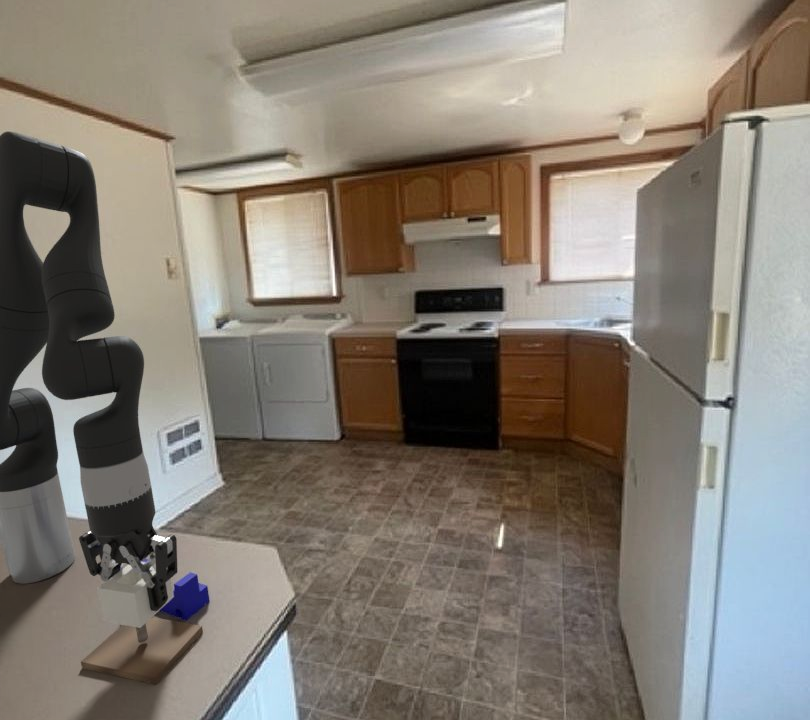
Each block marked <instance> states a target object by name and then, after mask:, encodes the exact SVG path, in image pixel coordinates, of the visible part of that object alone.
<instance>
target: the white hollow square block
mask: <svg viewBox="0 0 810 720" xmlns="http://www.w3.org/2000/svg"><path fill="white" fill-rule="evenodd" d="M141 563H142V564H144V563H146V562H141ZM150 572H151V574H152V575H154V574H155V573H156V572H155V570H154V568H153V567H150ZM147 587H148V586H147V585H146V583H145V582H144V580H143V578H142V576H141V575H137V574H135V572H134V570H133V569H132V567H131V565H129V564H126V566H124V567H123V568H122V570H121V571H119V572H118V573H117V574H115V575H114V576H113V577H111V578H110V579H109V580H107V581H106V582H105V581H103V583H102V584H101V585H99V586H98V587H97V588H96V590H97V594H98V595H97V596H98V598H99V599H98V600H99V605H100V611H101V615H102V619H103V622H104V623H109V624H114V625H115V624H116V625H121V626H122V625H127V626H132V627H138V628H141V627H142V626H143V625H144V624H145V623H146V622H147V621H149V620H150V619H151V618H152V617H154V616H155V615H156V614H157V613H158V612H160V611H159V610H160V609H161V608H163V607H164V606H165V605H166V604H167V603H168V602H169V601H170V600H171V599H172V598H173V597H174V594H173V591H174V587H173V583H172V578H170V579H169V580H168V581H167V582H166V588H167V594H168V600H167V601H166V603H165V604H164V605H163V606H162V607H161V608H160V609H159V610H158V611H151V609H150V603H149V598H148V592H147Z"/></svg>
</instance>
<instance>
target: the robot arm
mask: <svg viewBox="0 0 810 720" xmlns="http://www.w3.org/2000/svg"><path fill="white" fill-rule="evenodd" d="M25 206H31V207H36V208H41V209H46V210H49V211H51V210H52V211H56V212H60V213H67V214H68V215H69V223H68V226H67V228H66V230H65V232H63V234H62V235H61V237H59V239H58V240H57V241H56V243H55V244H53V246H52V247H51V249H50V250H49V251H48V253H47V255H46V256H45V258H44V260H42V259H41V257H40V255H39V254H38V252H37V251H36V248H35V247H34V245H33V243H32V242H31V239H30V237H29V235H28V232H27V229H26V227H25V219H24V207H25ZM99 218H100V216H99V205H98V193H97V184H96V177H95V173H94V169H93V166H92V163H91V162H90V160H89V158H88V157H87V156H86V155H85V154H84V153H82V152H80V151H78V150H76V149H73V148H69V147H67V146H65V145H59V144H56V143H54V142H50V141H46V140H43V139H40V138H36V137H33V136H30V135H26V134H23V133H18V132H15V131H5V132H3V133H1V134H0V451H2V450H5V449H9V448H12V447H15V448H14V450H13V451H12V452H11V453H10V455H9V456H8V457H7V458H6V459H5V460H3V461H2V462H1V463H0V542H1V546H2V550H3V554H4V560H5V564H6V568H7V574H8V575H9V576H11V579H12V581H13V582H14V583H16V584H30V583H31V584H32V583H36V582H40V581H44V580H46V579H49V578H52V577H54V576H56V575H57V574H60V573H61V572H63V571H65V570H67V568H69V567H70V566H71V565H72V564H73V563H74V561H75V559H76V555H75V551H74V546H73V541H72V535H71V529H70V525H69V520H68V515H67V511H66V504H65V501H64V496H63V495H64V494H63V490H62V486H61V480H60V477H59V472H58V460H59V449H58V444H57V442H58V441H57V436H56V426H55V421H54V415H53V410H52V407H51V405H50V402H49V400H48V399H47V398H46V396H45V395H44V394H43V393H42V392H41V391H40V390H38V389H36V388H33V387H25V388H20V389H19V388H18V389H14V387H15V385H16V383H17V380H18V379H19V377H20V376H21V375H22V373H23V372H24V370H25V369H26V368H27V367H28V366H29V364H31V362H33V360H34V359H35V358H36V357H38V354H39V353H41V351H42V350H43V348H44V347H45V350H44V354H43V360H42V365H41V366H42V367H41V375H42V376H41V377H42V382H43V385H44V386H45V389H47V390H48V392H49V393H51V395H52V396H54V397H56V398H57V399H60V400H64V401H72V400H80V399H85V398H91V397H95V396H103V395H107V394H112V393H114V394H115V397H114V399H113V400H112V402H111V403H110V404H109V405H107V406H106V407H104V408H102V409H100V410H97V411H94V412H92V413H89V414H86V415H85V416H83V417H80V418H79V419H78V420H76V421H75V422H74V425H73V431H72V432H73V438H74V443H75V448H76V453H77V458H78V464H79V471H80V486H81V487H80V488H81V492H82V497H83V502H84V507H85V512H86V516H87V517H86V518H87V522H88V526H89V530H88V531H86V532H85V533H83V534H82V535H80V536H79V538H78V541H79V544H80V547H81V549H82V552H83V557H84V560H85V562H86V564H87V565H86V566H87V569H88V572H89V574H90V575H91V576H93V577H95V576H97V575H98V576H100V579H101V581H103V582H106V581H107V580H109V579H110V578H111V577H113V576H114V575H115V574H117V573H118V572H119V571H121V570H122V569H123V568H124V565H125V564H126V565H131V567H132V569H133V570H134V572H135V574H137V575H141V576H142V578H143V580H144V582H145V583H146V585H147V586H148V587H147V592H148V598H149V603H150V609H151V611H158V610H159V609H160V608H161V607H162V606H163V605H164V604H165V603H166V601H167V600H168V594H167V588H166V582H167V581H168V580H169V579H170V578H171V579H172V578H173V577H174V576H175V575H176V574H178V549H177V548H178V545H177V543H178V542H177V537H176V535H175V534H172V533H171V534H169V535H167V536H166V537H164V536H160V535H158V533H157V531H156V530H155V528H154V526H153V522H154V518H155V515H156V508H155V507H156V506H155V500H154V494H153V489H152V483H151V476H150V470H149V465H148V463H147V460H146V457H145V454H144V448H143V443H142V437H141V431H140V425H139V424H140V423H139V404H140V395H141V389H142V385H143V384H142V383H143V378H144V377H143V376H144V371H145V370H144V369H145V357H144V354H143V351H142V349H141V347H140V345H139V344H138V343H137V342H136V341H135V340H133V339H132V338H131V337H127V336H124V335H123V336H122V335H117V336H116V335H115V336H109V337H108V336H107V337H102V338H101V337H100V338H90V339H82V338H85V337H88V336H91V335H93V334H94V335H95V334H97V333H100V332H102V331H104V330H106V329H108V328H109V327H110V326H112V324H113V323H114V320H115V309H114V305H113V301H112V298H111V293H110V289H109V286H108V282H107V278H106V274H105V268H104V266H103V259H102V258H103V257H102V247H101V231H100V219H99ZM13 389H14V390H13ZM98 556H99V558H100V561H99V562H97V557H98ZM148 556H149V559H148V561H147V562H146V563H144V564H142V563H141V561H142V560H144V559H147V558H148ZM150 567H153V568H154V570H155V572H156V573H155V574H154V575H152V574H151V572H150ZM158 612H159V611H158Z"/></svg>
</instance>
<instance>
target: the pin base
mask: <svg viewBox="0 0 810 720" xmlns="http://www.w3.org/2000/svg"><path fill="white" fill-rule="evenodd" d="M202 633H203V625H201V624H199V625H198V624H193V623H187V622H181V621H177V620H170V619H165V618H160V617H154V616H153V617H152V618H151V619H150V620H149V621H147V622H146V623H145V624H144V625H143V626H142V627H141V628H138V627H132V626H127V625H121V626H120V627H118V628H117V629H116V630H115V631H113V632H112V633H111V634H110V635H109V636H108V637H107V638H106V639H105V640H104V641H102V642H101V643H100V644H98V646H97V647H95V648H94V649H93V650H92V651H91V652H90V653H88V655H87V656H86V657H84V658H83V659H81V660H80V665H81V669H84V670H88V671H94V672H97V673H103V674H108V675H111V676H116V677H120V678H125V679H130V680H133V681H138V682H142V681H143V683H147V684H150V685H151V684H153V685H157V684H158V682H160V680H161V679H162V678H163V677H164V676H165V674H167V673H168V671H169V670H170V669H171V668H172V667H173V666H174V665H175V664H176V663H177V662H178V660H179V659H180V658H181V657H182V656H183V655H184V654H185V652H187V650H188V649H189V648H190V647H191V646H192V645H193V644H194V643H195V641H196V640H197V639H198V638H199V637H200V635H202Z"/></svg>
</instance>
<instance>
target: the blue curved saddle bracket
mask: <svg viewBox="0 0 810 720" xmlns="http://www.w3.org/2000/svg"><path fill="white" fill-rule="evenodd" d="M148 560H149V559H148V558H145V559H144V560H142V561H141V562H147V561H148ZM208 588H209V587H208V585H207V584H202V583H201V582H200V583H199V577H198V574H197V573H193V572H191V571H190V572H189V573H187V574H186V575H184V576H183V577H182V578H180V579H179V580H177V581H176V582H175V583H173V594H174V597H173V598H172V599H171V600H170V601H169V602H168V603H167V604H166V605H165V606H164V607H163V608H161V609H160V610H159V611H158V612H160V613H163V614H166V615H169V616H172V617H175V618H177V619H180V620H182V621H188V620H189V619H190V618H191V617H193V616H194V615H196V613H198V612H199V611H200V610H201V609H202V608H203V607H205V606H206V605H207V604H208V603H210V602H211V601H210V596H209V594H210V593H209V589H208Z"/></svg>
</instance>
